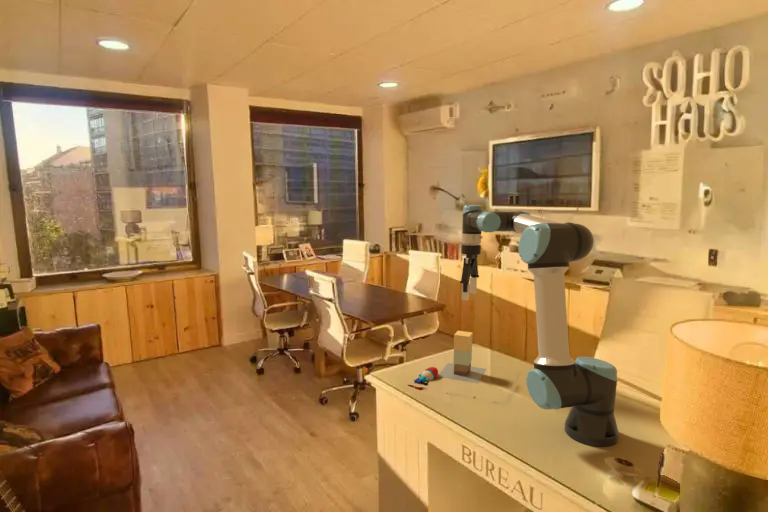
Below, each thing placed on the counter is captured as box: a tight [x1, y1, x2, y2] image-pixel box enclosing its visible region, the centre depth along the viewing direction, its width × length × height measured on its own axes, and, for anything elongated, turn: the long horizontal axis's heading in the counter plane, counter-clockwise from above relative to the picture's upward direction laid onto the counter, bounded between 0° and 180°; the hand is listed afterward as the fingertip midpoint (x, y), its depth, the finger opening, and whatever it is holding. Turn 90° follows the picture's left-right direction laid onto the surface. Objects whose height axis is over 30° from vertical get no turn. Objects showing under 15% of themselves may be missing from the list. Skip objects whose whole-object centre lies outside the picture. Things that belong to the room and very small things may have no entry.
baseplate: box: [436, 362, 487, 384], centre depth 191 cm, size 16×16×1 cm
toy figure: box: [407, 366, 439, 391], centre depth 184 cm, size 8×5×15 cm
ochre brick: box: [453, 330, 474, 352], centre depth 189 cm, size 6×6×6 cm
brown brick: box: [454, 362, 472, 376], centre depth 191 cm, size 6×5×4 cm
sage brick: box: [452, 347, 473, 366], centre depth 190 cm, size 5×6×6 cm
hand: (469, 296), depth 193 cm, fingers open, 13 cm apart
